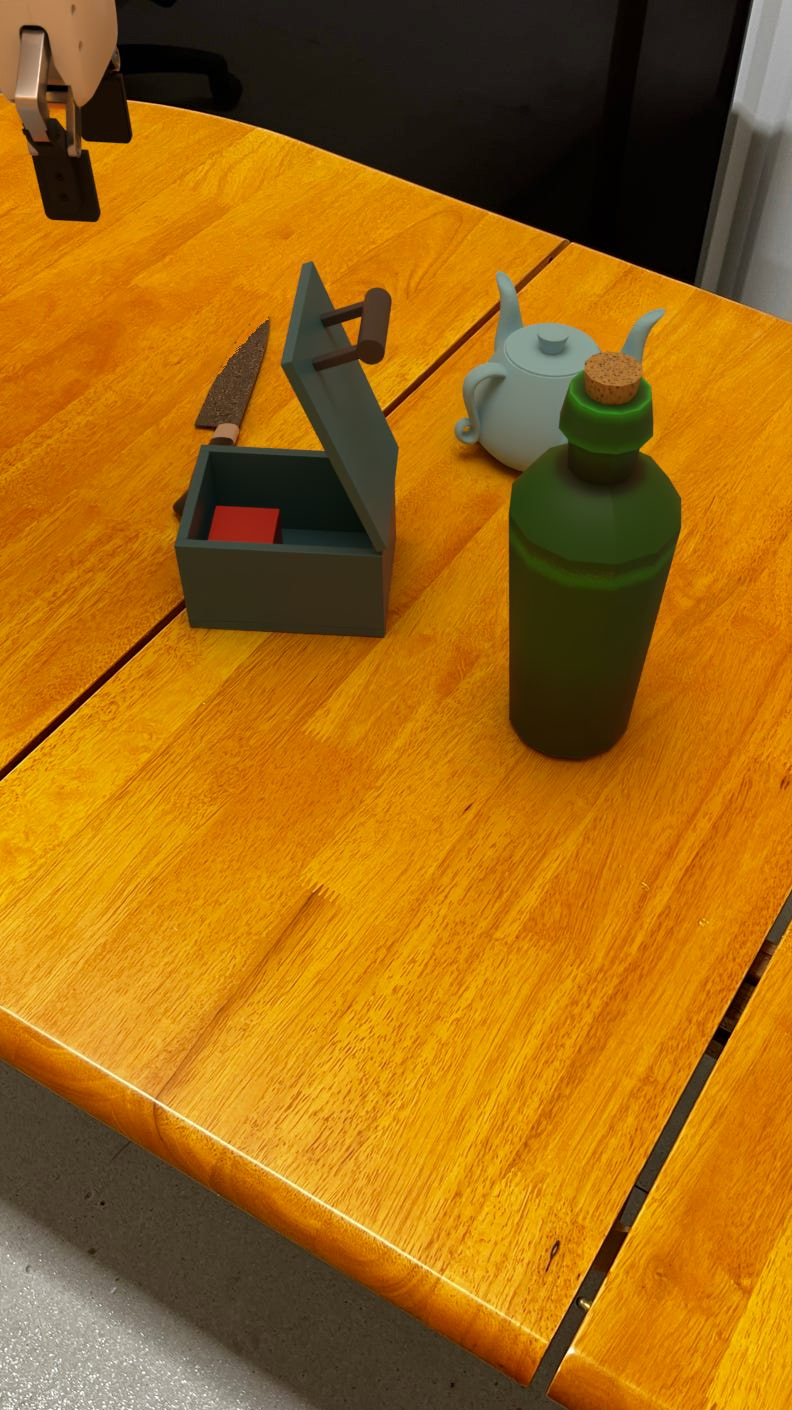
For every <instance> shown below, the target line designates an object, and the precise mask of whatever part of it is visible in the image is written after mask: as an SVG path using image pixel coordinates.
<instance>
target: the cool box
mask: <svg viewBox="0 0 792 1410" xmlns="http://www.w3.org/2000/svg"><path fill="white" fill-rule="evenodd" d="M194 467H195V469H194V468H193V470H194V473H193V472H192V473H193V476H192V475H191V477H192V480H191V479H190V480H191V484H190V483H189V484H190V488H189V487H188V488H189V492H188V495H187V499H186V503H185V507H184V510H183V514H182V518H181V519H180V522H179V526H178V530H177V533H176V537H175V540H174V545H173V547H174V553H175V559H176V564H177V568H178V573H179V579H180V583H181V588H182V589H181V590H182V595H183V599H184V606H185V609H186V615H187V619H188V620H187V621H188V626H189V628H197V629H214V630H215V629H217V630H236V631H254V632H255V631H256V632H274V633H291V634H292V633H293V634H294V633H295V634H311V635H312V634H313V635H331V636H350V637H351V636H353V637H369V638H370V637H371V638H372V637H373V638H385V636H386V629H387V620H388V612H389V611H388V610H389V603H390V593H391V585H392V575H393V568H394V559H395V550H396V540H397V517H396V516H397V513H396V506H397V505H396V484H395V485H394V494H393V502H392V511H391V519H390V528H389V536H388V545H387V550H384V551H380V552H377V551H376V549H375V547H374V545H373V543H372V542H371V540H370V538H369V536H368V534H367V532H366V530H365V528H364V526H363V524H362V522H361V520H360V518H359V516H358V514H357V512H356V511H355V509H354V507H353V505H352V503H351V501H350V499H349V497H348V495H347V493H346V491H345V489H344V487H343V485H342V483H341V481H340V480H339V478H338V476H337V474H336V472H335V470H334V468H333V466H332V464H331V462H330V460H329V458H328V456H327V454H326V452H325V450H317V449H316V450H315V449H299V448H297V449H296V448H276V447H262V446H261V447H257V446H240V445H234V446H222V445H208V444H200V446H199V450H198V454H197V458H196V462H195V465H194ZM216 506H231V507H251V508H270V509H279V510H280V518H281V527H282V537H283V544H268V543H249V542H229V541H210V540H208V537H209V533H210V528H211V524H212V520H213V516H214V512H215V508H216Z"/></svg>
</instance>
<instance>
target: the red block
mask: <svg viewBox="0 0 792 1410" xmlns="http://www.w3.org/2000/svg"><path fill="white" fill-rule="evenodd" d="M208 540H210V541H229V542H249V543H268V544H283V537H282V527H281V518H280V510H279V509H270V508H251V507H231V506H216V508H215V512H214V516H213V520H212V524H211V528H210V533H209V537H208Z"/></svg>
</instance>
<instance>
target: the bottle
mask: <svg viewBox="0 0 792 1410" xmlns="http://www.w3.org/2000/svg"><path fill="white" fill-rule="evenodd" d="M643 370H644V366H643V365H641V364H640V363H639V362H638V361H637V360H636V359H635V358H634V357H631V356H629V355H626V354H624V353H620V351H608V350H607V351H602V353H598V354H594V355H592V356H591V357H590V358H589V359H588V360H586V361H585V367H584V370H582V371H581V372H580V373H579V374H577V375H576V376H575V377H574V378H573V379H572V380H571V381H570V384H569V387H568V390H567V393H566V396H565V399H564V402H563V405H562V408H561V411H560V419H559V429H560V430H561V432H562V433H563V434H564V435H565V437H566V438H567V439H568V443H567V444H563V445H559V446H555V447H551V448H549V449H548V450H547V451H546V452H545V453H544V454H542V455H541V456H540V457H539V458H538V459H537V460H536V461H534V462H533V463H532V464H531V465H530V466H529V467H528V468H527V469H526V470H525V471H524V472H522V473H521V474H520V475H518V477H517V478H516V479H515V480H514V481H513V482H512V483H511V489H510V490H511V491H510V497H509V507H508V708H509V709H508V716H509V717H508V720H509V721H510V723H511V724H512V727H513V728H514V729H515V731H516V732H517V734H518V736H519V738H520V739H521V740H522V742H523V743H525V744H526V745H527V744H528V745H529V746H531V747H533V748H535V749H536V750H538V751H540V752H541V753H544V754H546V755H547V756H550V757H559V758H569V759H570V758H571V759H585V758H589V757H591V756H594V755H596V754H599V753H600V754H601V753H602V752H605V751H609V750H611V749H612V747H613V746H614V745H615V744H616V743H617V742H618V741H619V739H620V738H621V737H622V736H623V735H624V734H625V732H626V731H627V729H628V726H629V722H630V718H631V716H632V715H631V714H632V711H633V707H634V705H635V700H636V696H637V692H638V689H639V685H640V682H641V678H642V675H643V671H644V667H645V663H646V661H647V655H648V652H649V648H650V646H651V645H650V644H651V641H652V637H653V633H654V630H655V626H656V624H657V623H656V622H657V619H658V615H659V611H660V607H661V604H662V601H663V597H664V594H665V589H666V585H667V582H668V578H669V575H670V571H671V568H672V565H673V564H672V563H673V560H674V556H675V552H676V549H677V545H678V542H679V539H680V534H681V531H682V497H681V495H680V494H679V492H678V490H677V489H676V487H675V485H674V483H673V482H672V480H671V479H670V477H669V476H668V475H667V474H666V472H665V471H664V470H663V469H662V468H661V466H660V465H659V464H658V463H657V461H656V460H654V458H653V457H652V456H651V455H649V454H646V453H645V452H642V451H640V450H641V448H643V446H644V445H645V444H646V443H648V442H649V441H650V440H651V439H652V438H653V437H654V408H653V407H654V406H653V405H654V404H653V392H652V391H653V390H652V385H651V384H650V383H649V382H648V381H647V380H646V379H645V378H644V377H643V375H644V374H643V373H644V371H643Z"/></svg>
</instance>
